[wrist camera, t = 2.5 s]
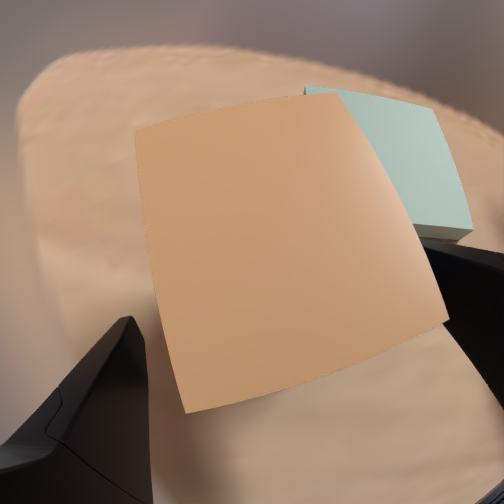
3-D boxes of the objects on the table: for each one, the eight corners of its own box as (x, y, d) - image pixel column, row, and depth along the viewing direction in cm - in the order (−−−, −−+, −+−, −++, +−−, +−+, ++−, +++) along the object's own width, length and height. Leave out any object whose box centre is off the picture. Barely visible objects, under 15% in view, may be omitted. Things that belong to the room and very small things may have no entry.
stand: (459, 240, 19) (473, 229, 17) (312, 230, 19) (318, 216, 17) (423, 123, 23) (432, 109, 21) (301, 102, 23) (305, 85, 21)
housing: (322, 349, 17) (449, 319, 5) (227, 377, 16) (185, 413, 5) (287, 245, 19) (336, 92, 8) (198, 269, 18) (134, 130, 7)
